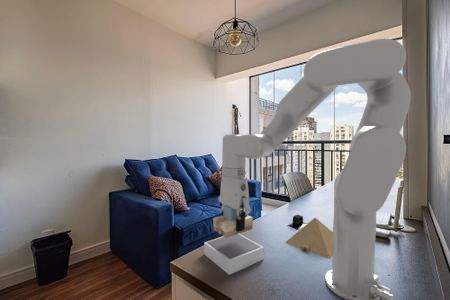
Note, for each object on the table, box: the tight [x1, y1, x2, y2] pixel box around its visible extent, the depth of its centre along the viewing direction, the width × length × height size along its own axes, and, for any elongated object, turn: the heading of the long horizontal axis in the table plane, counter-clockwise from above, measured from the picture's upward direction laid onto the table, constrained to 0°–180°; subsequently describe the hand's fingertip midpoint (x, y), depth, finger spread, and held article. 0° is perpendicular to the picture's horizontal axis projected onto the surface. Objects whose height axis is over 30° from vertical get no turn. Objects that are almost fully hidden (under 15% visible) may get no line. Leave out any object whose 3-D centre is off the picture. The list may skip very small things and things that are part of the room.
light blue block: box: [223, 205, 242, 221], centre depth 72 cm, size 4×5×4 cm
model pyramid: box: [284, 217, 333, 259], centre depth 83 cm, size 17×17×10 cm
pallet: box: [212, 214, 254, 238], centre depth 72 cm, size 7×11×4 cm, turn 126°
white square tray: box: [203, 233, 265, 276], centre depth 73 cm, size 14×14×4 cm
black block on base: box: [286, 214, 308, 231], centre depth 100 cm, size 12×7×5 cm, turn 131°
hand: (232, 226), depth 72 cm, fingers closed on pallet, 6 cm apart
